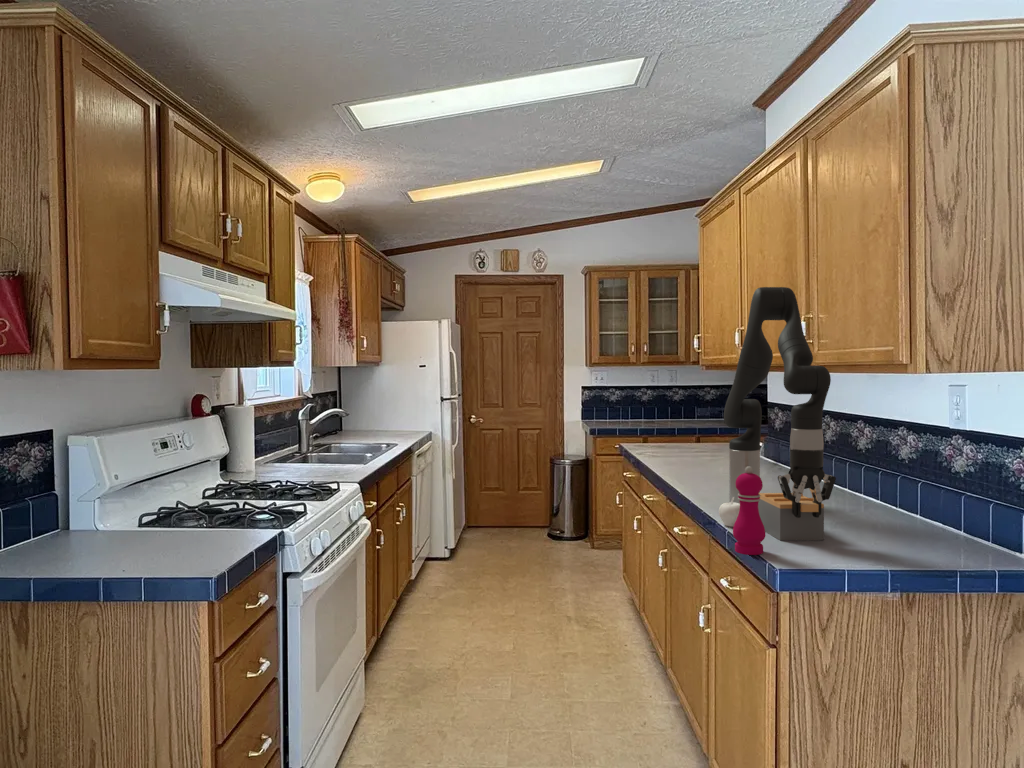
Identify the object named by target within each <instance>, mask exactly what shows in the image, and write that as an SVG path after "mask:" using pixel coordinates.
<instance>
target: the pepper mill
mask: <svg viewBox="0 0 1024 768" xmlns="http://www.w3.org/2000/svg"><path fill="white" fill-rule="evenodd" d="M745 472H746V473H743V474H741V475H739V476H738V477H737V479H736V483H735V484H736V488H737V490H738V491H739V493H738V500H740V509H739V514H738V517H737V519H736V521H735V524H734V527H732V536H733V537H734V539H735V540H736V542H735V543H734V551H735V552H736V553H738V554H740V555H746V556H759V555H762V554H764V545H763V544H762V542H763V541H764V540H765V538H766V532H765V528H764V525H763V523H762V520H761V518H760V515H759V510H758V502H759V501H760V494H759V492H760V493H761V491H762V490H763V486H764V485H763V480H762V477H761V476H760V477H759V476H758V475H756V474H753V473H752V472H753V469H752V467H750V466H748V467H746V468H745Z"/></svg>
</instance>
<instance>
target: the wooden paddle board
mask: <svg viewBox="0 0 1024 768" xmlns="http://www.w3.org/2000/svg"><path fill="white" fill-rule="evenodd" d="M759 494H760V499H761V500H763V501H765V502H768V503H770V504H772V505H774V506H776V507H778V508H780V509H785V508H792V501H791V500H788V499H786V498H784V496H783V493H782V492H765V493H764V492H760V493H759ZM791 494H792V492H791ZM812 501H814V500H813V497H807V496H805V495H804V494H802V495H801V499H800V503H801V512H818V506H819V505H818V504H816V503H813V502H812ZM821 508H824V509H825V504H824V503H823V502H822V503H821Z"/></svg>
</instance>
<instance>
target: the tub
mask: <svg viewBox="0 0 1024 768" xmlns="http://www.w3.org/2000/svg"><path fill="white" fill-rule="evenodd" d="M758 510H759V515H760V518H761V520H762V523H763V525H764V528H765V533H767V534H768V535H770V536H772V537H773V538H775V539H776V540H779V541H824V540H825V507H824V508H821V515H819V517H813V515H812V512H801V517H800V518H797V517H795V516H794V515H793V514H792V508H785V509H780V508H778V507H776V506H774V505H772V504H770V503H768V502H765V501H763V500H761V499H760V501H759V502H758Z"/></svg>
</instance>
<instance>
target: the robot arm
mask: <svg viewBox="0 0 1024 768" xmlns="http://www.w3.org/2000/svg"><path fill="white" fill-rule="evenodd" d="M801 318H802V317H801V312H800V310H799V304H798V301H797V297H796V294H795V292H794V290H793V289H791V288H790V287H785V286H762V287H758V288H757V289H755V290H754V292H753V295H752V299H751V301H750V308H749V313H748V320H747V326H746V331H745V335H744V340H743V343H742V347H741V350H740V353H739V358H738V362H737V365H736V366H737V367H736V371H735V375H734V379H733V383H732V386H731V388H730V391H729V394H728V397H727V399H726V401H725V405H724V411H723V422H724V423H725V425H726V427H728V428H733V429H746V431H745V432H744V433H743V434H741V435H740V436H737V437H735V438H733V439H730V441H729V445H728V447H729V451H728V452H729V455H728V457H729V459H728V460H729V464H728V465H729V476H728V477H729V480H728V481H729V493H728V495H729V497H728V499H729V502H731V501H732V498H733V497H734V500H733V502H735V503H740V500H738V493H739V491H738V490H737V488H736V484H735V483H736V479H737V477H738V476H739V475H741V474H743V473H746V472H745V468H746V467H748V466H750V467H752V469H753V472H752V473H753V474H756V475H758V476H759V477H760V478H761V460H760V459H761V457H760V456H761V453H760V452H761V439H762V438H761V437H762V435H761V432H762V413H763V411H762V406H761V403H760V401H759V400H758V399H755V398H746V397H747V396H748V395H749V394H750V393H751V392H752V391H753V390H755V389H756V388H757V387H758V386H759V385H760V384H762V383H763V382H764V381H765V379H767V377H768V375H769V372H770V369H771V366H772V362H773V358H774V355H773V354H774V353H773V351H772V347H771V345H770V344H769V342H768V339H766V336H765V335H764V332H763V323H764V321H785V323H786V324H785V326H784V328H783V329H782V331H781V332H780V334H779V337H778V339H777V350H778V352H779V355H780V357H781V359H782V363H783V371H784V372H783V387H784V388H785V390H786V391H787V392H788V393H790V394H792V395H811V396H810V397H809V400H808V401H806V402H804V403H799V404H795V405H793V406H792V407H791V411H790V417H791V418H790V422H791V423H790V427H791V429H790V434H789V435H790V437H789V465H790V467H789V470H788V473H786V474H784V475H783V474H782V475H778V476H777V480H778V483H779V486H780V490H781V493H783V496H784V498H786V499H788V500H791V501H792V514H793V515H794V516H795V517H797V518H800V517H801V503H800V499H801V495H802V494H803V493H804V491H805V490H807V489H809V491H810V493H811V495H812V497H811V498H813V500H814V501H812V502H813V503H816V504H818V505H819V506H818V512H812V515H813V517H819V515H821V503H823V501H825V500H826V501H828V500H829V499H831V494H832V492H833V489H834V485H835V483H836V479H837V478H836V476H834V475H831V474H826V473H825V470H824V445H825V444H824V435H823V434H824V433H823V412H824V411H823V410H824V407H825V402H826V399H827V395H828V394H829V390H830V386H831V382H832V380H831V374H830V371H829V370H828V369H827V367H826V366H824V365H812V364H813V362H814V356H813V353H812V350H811V348H810V345H809V344H808V342H807V338H806V336H805V334H804V330H803V325H802V319H801ZM790 480H791V482H792V483H793V485H792V491H791V488H790V485H789V484H790ZM822 481H823V486H822V489H821V486H820V483H821V482H822ZM759 493H761V491H760V492H759ZM791 493H792V494H791ZM803 495H804V494H803Z"/></svg>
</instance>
